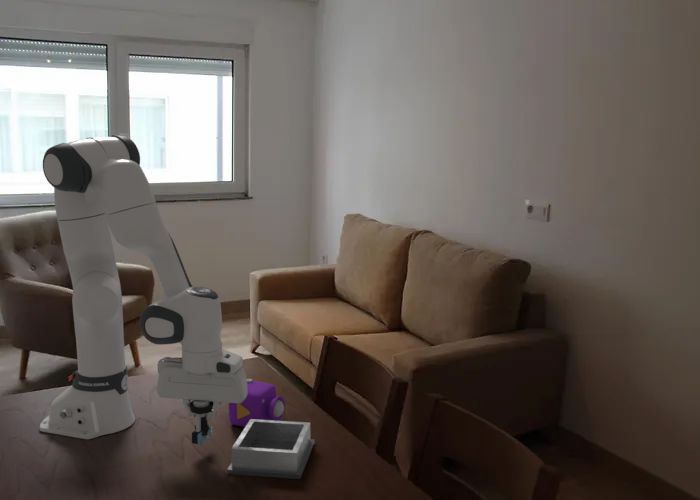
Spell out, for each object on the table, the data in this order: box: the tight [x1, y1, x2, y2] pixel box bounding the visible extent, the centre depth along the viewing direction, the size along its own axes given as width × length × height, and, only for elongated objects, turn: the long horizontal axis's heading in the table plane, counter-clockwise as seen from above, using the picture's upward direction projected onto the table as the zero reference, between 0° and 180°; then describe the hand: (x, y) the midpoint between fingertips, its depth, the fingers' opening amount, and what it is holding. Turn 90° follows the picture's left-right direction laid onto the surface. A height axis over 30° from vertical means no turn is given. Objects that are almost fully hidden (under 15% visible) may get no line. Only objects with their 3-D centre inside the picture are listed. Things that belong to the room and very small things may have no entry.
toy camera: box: [228, 378, 286, 428], centre depth 174 cm, size 11×14×10 cm
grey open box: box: [226, 419, 315, 480], centre depth 156 cm, size 16×17×6 cm
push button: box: [189, 400, 214, 446], centre depth 158 cm, size 7×5×10 cm
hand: (202, 417), depth 158 cm, fingers closed on push button, 3 cm apart
